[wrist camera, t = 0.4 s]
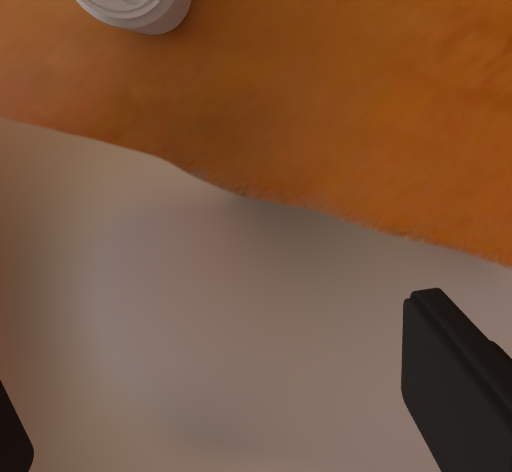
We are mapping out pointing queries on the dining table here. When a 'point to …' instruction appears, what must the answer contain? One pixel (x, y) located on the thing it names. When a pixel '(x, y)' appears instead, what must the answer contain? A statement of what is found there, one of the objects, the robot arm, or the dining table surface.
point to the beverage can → (139, 13)
